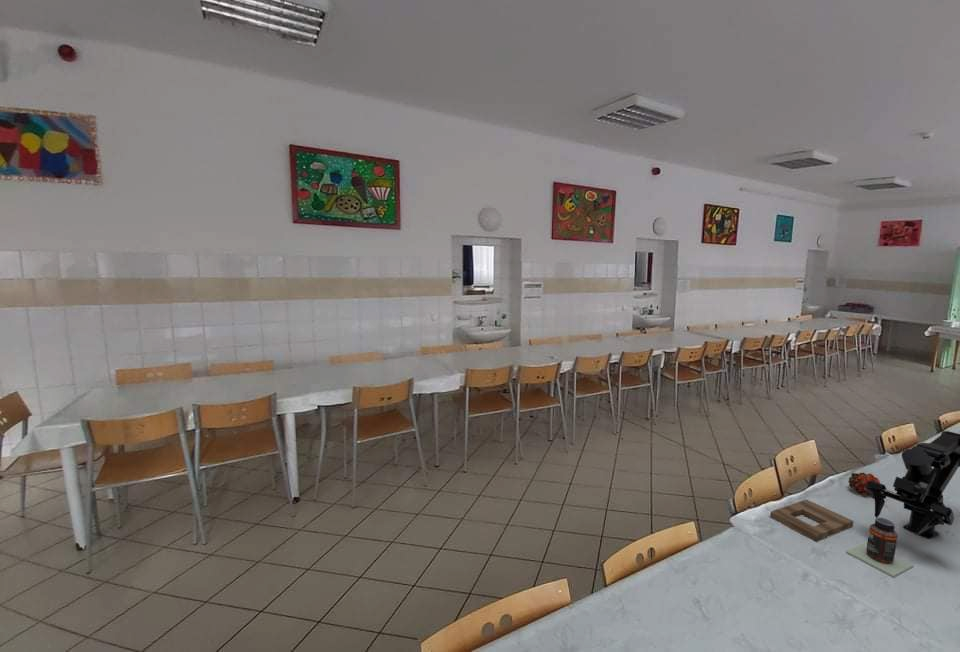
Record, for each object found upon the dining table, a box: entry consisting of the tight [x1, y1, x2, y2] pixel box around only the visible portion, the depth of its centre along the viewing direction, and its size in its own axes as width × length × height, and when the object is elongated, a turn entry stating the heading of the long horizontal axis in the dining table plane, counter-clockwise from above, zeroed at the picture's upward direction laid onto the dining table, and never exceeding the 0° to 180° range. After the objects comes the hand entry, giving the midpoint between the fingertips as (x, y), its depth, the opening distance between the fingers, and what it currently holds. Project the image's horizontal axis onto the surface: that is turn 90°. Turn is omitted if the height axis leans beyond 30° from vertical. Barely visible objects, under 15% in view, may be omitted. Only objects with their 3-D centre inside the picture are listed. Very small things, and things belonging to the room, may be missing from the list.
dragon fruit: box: [847, 472, 881, 497], centre depth 160 cm, size 8×8×12 cm
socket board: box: [769, 499, 854, 543], centre depth 142 cm, size 20×14×2 cm
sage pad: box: [845, 541, 915, 578], centre depth 124 cm, size 11×11×1 cm
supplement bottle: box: [866, 517, 898, 563], centre depth 123 cm, size 6×6×11 cm
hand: (895, 525), depth 126 cm, fingers open, 9 cm apart
